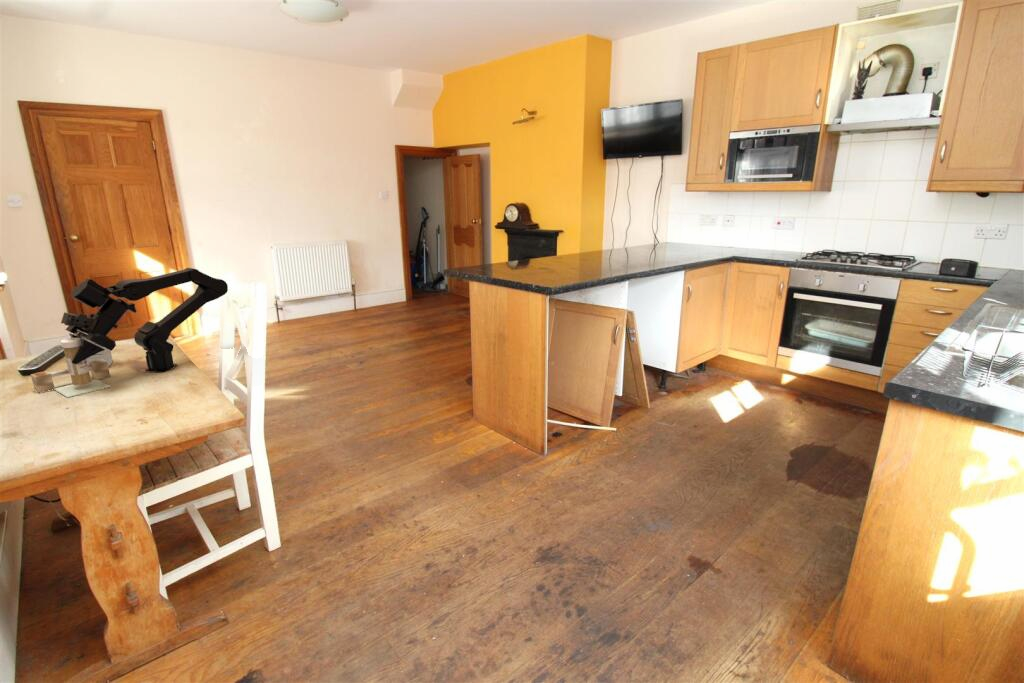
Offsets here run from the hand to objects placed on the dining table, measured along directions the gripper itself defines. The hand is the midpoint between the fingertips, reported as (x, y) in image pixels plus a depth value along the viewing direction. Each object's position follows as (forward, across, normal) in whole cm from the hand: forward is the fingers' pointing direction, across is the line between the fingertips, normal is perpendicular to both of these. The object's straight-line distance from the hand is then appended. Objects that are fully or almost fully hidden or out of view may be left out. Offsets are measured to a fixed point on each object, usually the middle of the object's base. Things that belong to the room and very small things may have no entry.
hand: (70, 361), depth 142 cm
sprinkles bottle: (+4, 0, +6) cm, 7 cm away
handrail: (+5, -7, +7) cm, 11 cm away
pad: (+5, 0, +7) cm, 9 cm away
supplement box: (-1, -19, +14) cm, 24 cm away
